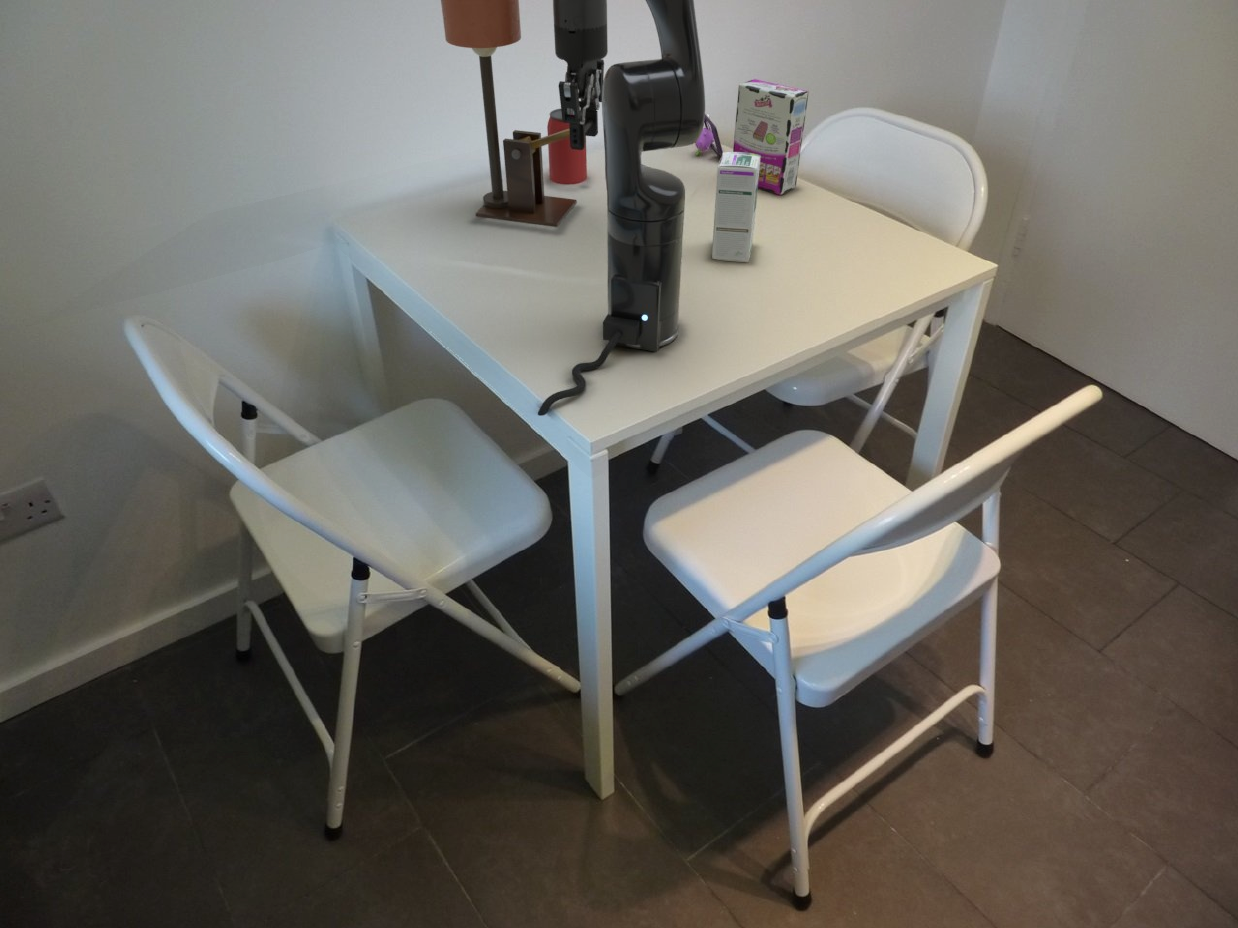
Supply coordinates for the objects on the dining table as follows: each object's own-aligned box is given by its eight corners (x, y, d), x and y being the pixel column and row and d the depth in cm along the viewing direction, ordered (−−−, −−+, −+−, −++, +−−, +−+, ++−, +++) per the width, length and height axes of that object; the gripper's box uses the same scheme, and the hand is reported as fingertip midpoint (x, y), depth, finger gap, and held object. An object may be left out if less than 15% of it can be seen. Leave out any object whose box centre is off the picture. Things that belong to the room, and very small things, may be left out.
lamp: (517, 220, 134) (499, -5, 113) (454, 211, 136) (425, -11, 116) (541, 194, 142) (529, -21, 121) (481, 186, 144) (459, -26, 124)
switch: (596, 128, 130) (590, 113, 128) (584, 140, 126) (578, 125, 124) (524, 152, 135) (518, 137, 134) (511, 164, 131) (505, 149, 130)
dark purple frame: (720, 125, 153) (706, 110, 160) (693, 137, 154) (681, 121, 160) (728, 159, 158) (715, 143, 164) (702, 170, 158) (690, 153, 165)
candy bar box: (797, 188, 148) (810, 90, 138) (781, 196, 145) (793, 97, 135) (745, 172, 154) (754, 77, 143) (729, 179, 151) (737, 83, 140)
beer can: (544, 187, 148) (540, 117, 140) (557, 174, 153) (554, 105, 145) (579, 192, 147) (577, 121, 139) (591, 178, 151) (590, 109, 144)
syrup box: (749, 263, 126) (759, 167, 117) (709, 259, 127) (717, 164, 118) (752, 246, 130) (762, 153, 121) (714, 243, 131) (721, 150, 122)
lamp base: (577, 208, 141) (574, 130, 133) (557, 233, 134) (553, 152, 126) (500, 198, 144) (493, 122, 136) (476, 222, 137) (467, 142, 129)
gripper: (571, 7, 124) (576, 125, 135) (537, 30, 113) (544, 156, 124) (620, 10, 122) (621, 129, 133) (589, 34, 112) (593, 161, 122)
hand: (584, 141), depth 128 cm, fingers closed on switch, 5 cm apart
